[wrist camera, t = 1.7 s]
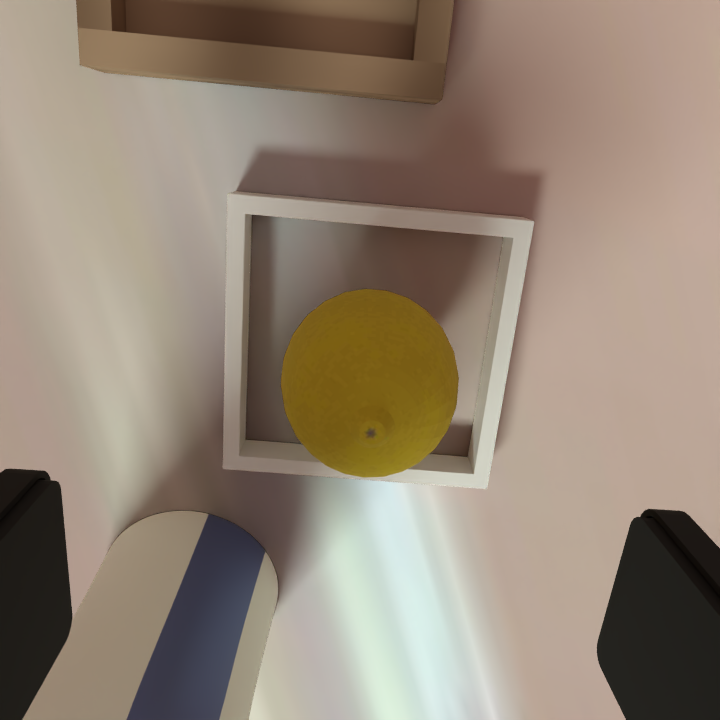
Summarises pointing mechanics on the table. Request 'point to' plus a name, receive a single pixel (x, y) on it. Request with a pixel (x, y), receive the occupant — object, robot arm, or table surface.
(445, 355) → the lemon
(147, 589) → the water bottle
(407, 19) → the tray
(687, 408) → the table surface
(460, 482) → the frame
